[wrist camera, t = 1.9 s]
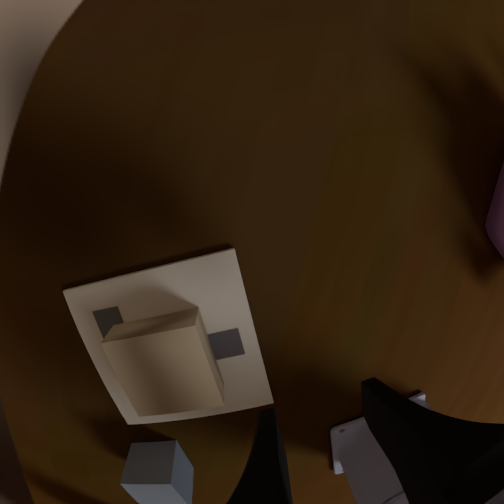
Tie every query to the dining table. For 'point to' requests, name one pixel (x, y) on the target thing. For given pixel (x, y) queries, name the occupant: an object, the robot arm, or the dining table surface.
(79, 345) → the dining table surface
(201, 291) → the letter card
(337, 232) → the dining table surface
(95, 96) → the dining table surface
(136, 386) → the birch block
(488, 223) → the teakettle
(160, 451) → the slate cube
